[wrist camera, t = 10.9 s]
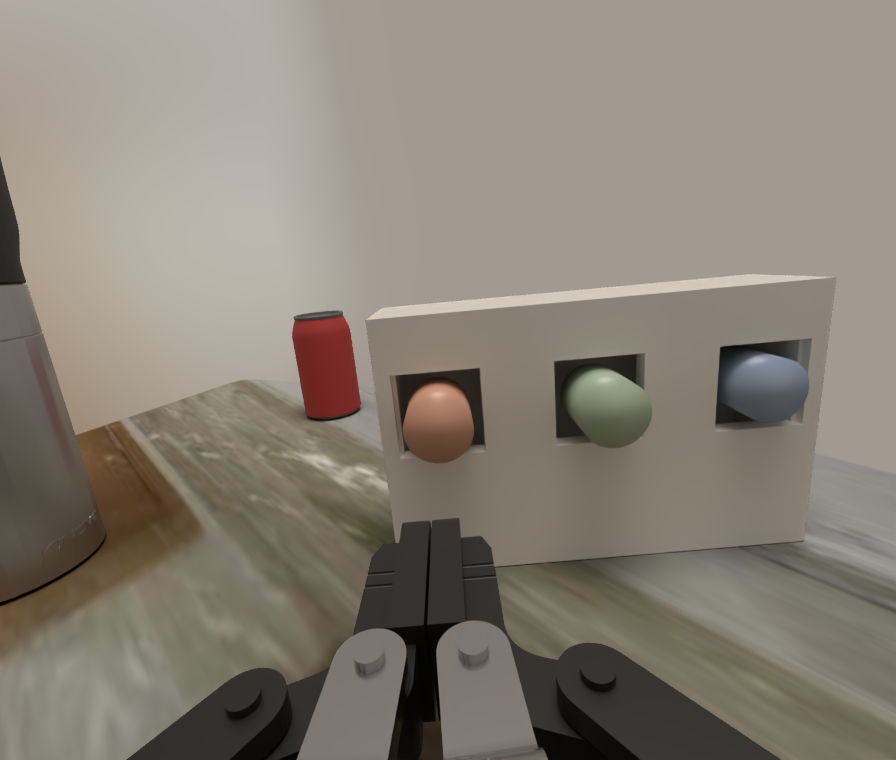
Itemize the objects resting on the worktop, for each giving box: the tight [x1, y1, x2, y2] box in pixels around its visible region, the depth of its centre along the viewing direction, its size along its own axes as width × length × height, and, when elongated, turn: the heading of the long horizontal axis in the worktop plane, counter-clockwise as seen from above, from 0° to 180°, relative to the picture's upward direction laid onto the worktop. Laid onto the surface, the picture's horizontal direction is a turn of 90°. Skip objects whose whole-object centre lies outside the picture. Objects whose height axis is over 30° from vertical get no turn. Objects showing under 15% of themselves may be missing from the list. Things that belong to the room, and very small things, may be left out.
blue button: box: [717, 345, 809, 423], centre depth 23 cm, size 3×4×3 cm
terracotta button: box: [403, 377, 474, 463], centre depth 22 cm, size 3×4×3 cm
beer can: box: [292, 311, 361, 420], centre depth 53 cm, size 7×7×12 cm
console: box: [365, 274, 836, 567], centre depth 26 cm, size 22×6×14 cm, turn 91°
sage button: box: [560, 363, 652, 448], centre depth 22 cm, size 3×4×3 cm
